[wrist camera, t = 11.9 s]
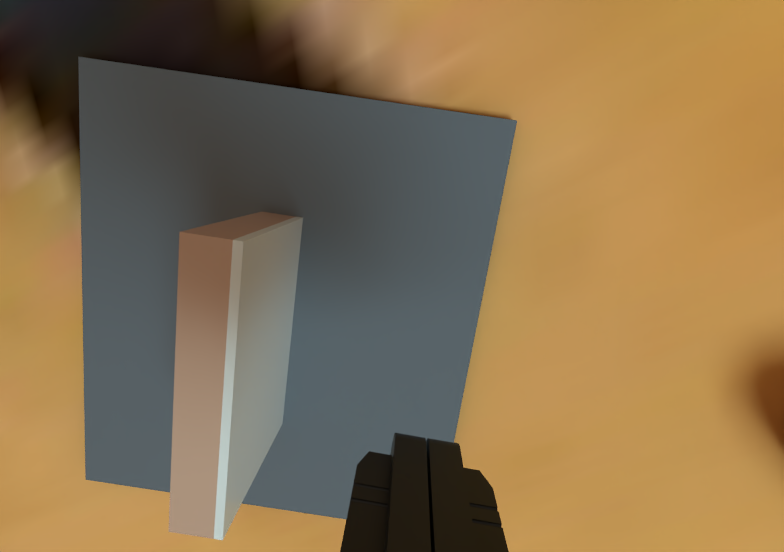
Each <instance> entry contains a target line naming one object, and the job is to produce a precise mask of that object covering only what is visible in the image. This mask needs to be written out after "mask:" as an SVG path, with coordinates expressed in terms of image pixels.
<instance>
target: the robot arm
mask: <svg viewBox="0 0 784 552" xmlns="http://www.w3.org/2000/svg"><path fill="white" fill-rule="evenodd" d="M340 552H508V548H507V544H506V540H505V536H504V532H503V528H501V520H500V516H499V512H498V511H497V504H496V500H495V495H494V491H493V488H492V487H491V485H490V484H489V483H488V481H487V480H486V479H485V477H484V476H483V475H482V473H481V472H480V471H479V470H474V469H468V468H463V463H462V457H461V451H460V446H459V444H458V443H453V442H447V441H441V440H436V439H430V438H427V440H426V438H424V437H418V436H412V435H407V434H401V433H394V437H393V442H392V447H391V453H390V455H388V454H382V453H376V452H371V451H369V452H368V453H367V454H366V455H365V456H364V457H363V459H362V460H361V461H360V462H359V463H358V464H357V468H356V473H355V478H354V484H353V489H352V494H351V499H350V504H349V510H348V515H347V520H346V525H345V530H344V536H343V541H342V546H341V551H340Z"/></svg>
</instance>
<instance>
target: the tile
mask: <svg viewBox="0 0 784 552" xmlns="http://www.w3.org/2000/svg"><path fill="white" fill-rule="evenodd" d="M302 223H303V218H302V217H295V216H288V215H282V214H275V213H269V212H258V213H254V214H250V215H246V216H242V217H237V218H233V219H229V220H225V221H221V222H217V223H213V224H209V225H205V226H201V227H197V228H193V229H189V230H185V231H181V232H180V233H179V261H178V288H177V316H176V344H175V371H174V399H173V427H172V454H171V482H170V510H169V532H174V533H180V534H187V535H193V536H200V537H206V538H213V539H219V540H223V539H224V537H225V535H226V533H227V531H228V529H229V527H230V525H231V523H232V521H233V519H234V517H235V515H236V513H237V511H238V509H239V507H240V505H241V503H242V502H243V500H244V498H245V496H246V494H247V492H248V490H249V488H250V486H251V484H252V482H253V480H254V478H255V476H256V474H257V472H258V470H259V468H260V466H261V464H262V463H263V461H264V459H265V457H266V455H267V453H268V451H269V449H270V447H271V445H272V443H273V441H274V439H275V437H276V435H277V433H278V431H279V429H280V427H281V425H282V424H283V414H284V404H285V394H286V384H287V374H288V364H289V353H290V343H291V333H292V323H293V313H294V303H295V293H296V283H297V273H298V263H299V253H300V243H301V233H302Z"/></svg>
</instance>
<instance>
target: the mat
mask: <svg viewBox="0 0 784 552" xmlns="http://www.w3.org/2000/svg"><path fill="white" fill-rule="evenodd" d="M78 61H79V119H80V178H81V236H82V294H83V352H84V410H85V468H86V480H92V481H99V482H105V483H112V484H119V485H125V486H132V487H138V488H145V489H151V490H158V491H164V492H170V482H171V454H172V427H173V399H174V371H175V344H176V316H177V288H178V261H179V233H180V232H181V231H185V230H189V229H193V228H197V227H201V226H205V225H209V224H213V223H217V222H221V221H225V220H229V219H233V218H237V217H242V216H246V215H250V214H254V213H258V212H269V213H275V214H282V215H288V216H295V217H302V218H303V223H302V233H301V243H300V253H299V263H298V273H297V283H296V293H295V303H294V313H293V323H292V333H291V343H290V353H289V364H288V374H287V384H286V394H285V404H284V414H283V424H282V425H281V427H280V429H279V431H278V433H277V435H276V437H275V439H274V441H273V443H272V445H271V447H270V449H269V451H268V453H267V455H266V457H265V459H264V461H263V463H262V464H261V466H260V468H259V470H258V472H257V474H256V476H255V478H254V480H253V482H252V484H251V486H250V488H249V490H248V492H247V494H246V496H245V498H244V500H243V502H242V503H243V504H250V505H256V506H263V507H269V508H276V509H283V510H289V511H296V512H302V513H309V514H315V515H322V516H329V517H335V518H342V519H347V515H348V510H349V504H350V499H351V494H352V489H353V484H354V478H355V473H356V468H357V464H358V463H359V462H360V461H361V460H362V459H363V457H364V456H365V455H366V454H367V453H368V452H369V451H371V452H376V453H382V454H388V455H390V453H391V447H392V442H393V437H394V433H401V434H407V435H412V436H418V437H424V438H426V440H427V438H430V439H436V440H441V441H447V442H453V443H454V438H455V433H456V428H457V423H458V418H459V413H460V407H461V402H462V397H463V392H464V387H465V382H466V377H467V372H468V367H469V362H470V357H471V352H472V347H473V342H474V336H475V331H476V326H477V321H478V316H479V311H480V306H481V301H482V296H483V291H484V286H485V281H486V276H487V270H488V265H489V260H490V255H491V250H492V245H493V240H494V235H495V230H496V225H497V220H498V215H499V210H500V204H501V199H502V194H503V189H504V184H505V179H506V174H507V169H508V164H509V159H510V154H511V149H512V144H513V138H514V133H515V128H516V123H517V121H516V120H509V119H502V118H495V117H488V116H482V115H475V114H468V113H461V112H454V111H447V110H441V109H434V108H427V107H420V106H413V105H406V104H399V103H393V102H386V101H379V100H372V99H365V98H358V97H351V96H345V95H338V94H331V93H324V92H317V91H310V90H303V89H297V88H290V87H283V86H276V85H269V84H262V83H255V82H249V81H242V80H235V79H228V78H221V77H214V76H208V75H201V74H194V73H187V72H180V71H173V70H166V69H160V68H153V67H146V66H139V65H132V64H125V63H118V62H112V61H105V60H98V59H91V58H84V57H78Z"/></svg>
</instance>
